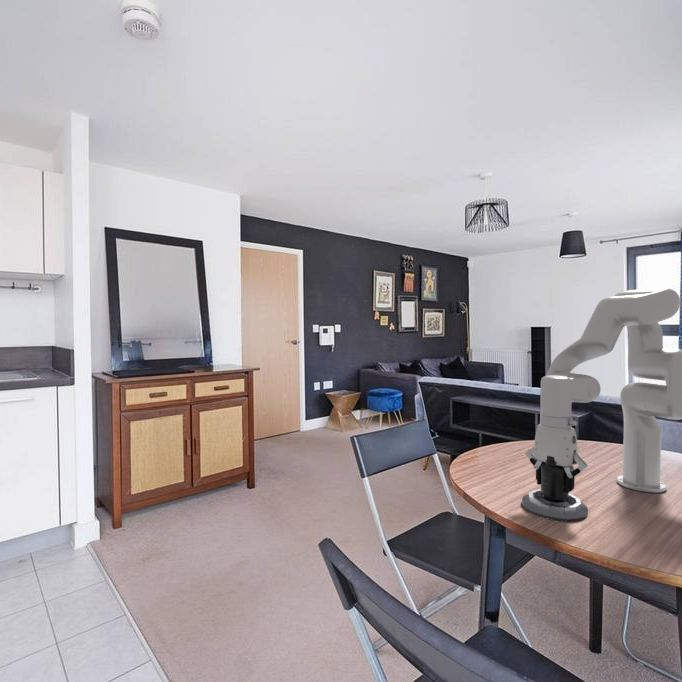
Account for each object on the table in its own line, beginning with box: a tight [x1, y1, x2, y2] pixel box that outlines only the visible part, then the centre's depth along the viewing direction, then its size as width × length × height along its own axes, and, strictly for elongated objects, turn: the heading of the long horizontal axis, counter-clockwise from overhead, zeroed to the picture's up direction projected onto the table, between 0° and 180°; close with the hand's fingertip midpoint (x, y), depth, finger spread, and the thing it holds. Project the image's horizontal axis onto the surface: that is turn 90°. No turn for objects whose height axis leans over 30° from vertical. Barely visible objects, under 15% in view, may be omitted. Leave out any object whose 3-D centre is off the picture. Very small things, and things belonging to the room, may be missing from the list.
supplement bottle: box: [540, 456, 570, 503], centre depth 118 cm, size 7×7×12 cm
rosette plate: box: [521, 488, 589, 522], centre depth 119 cm, size 16×16×3 cm
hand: (554, 486), depth 118 cm, fingers closed on supplement bottle, 6 cm apart
